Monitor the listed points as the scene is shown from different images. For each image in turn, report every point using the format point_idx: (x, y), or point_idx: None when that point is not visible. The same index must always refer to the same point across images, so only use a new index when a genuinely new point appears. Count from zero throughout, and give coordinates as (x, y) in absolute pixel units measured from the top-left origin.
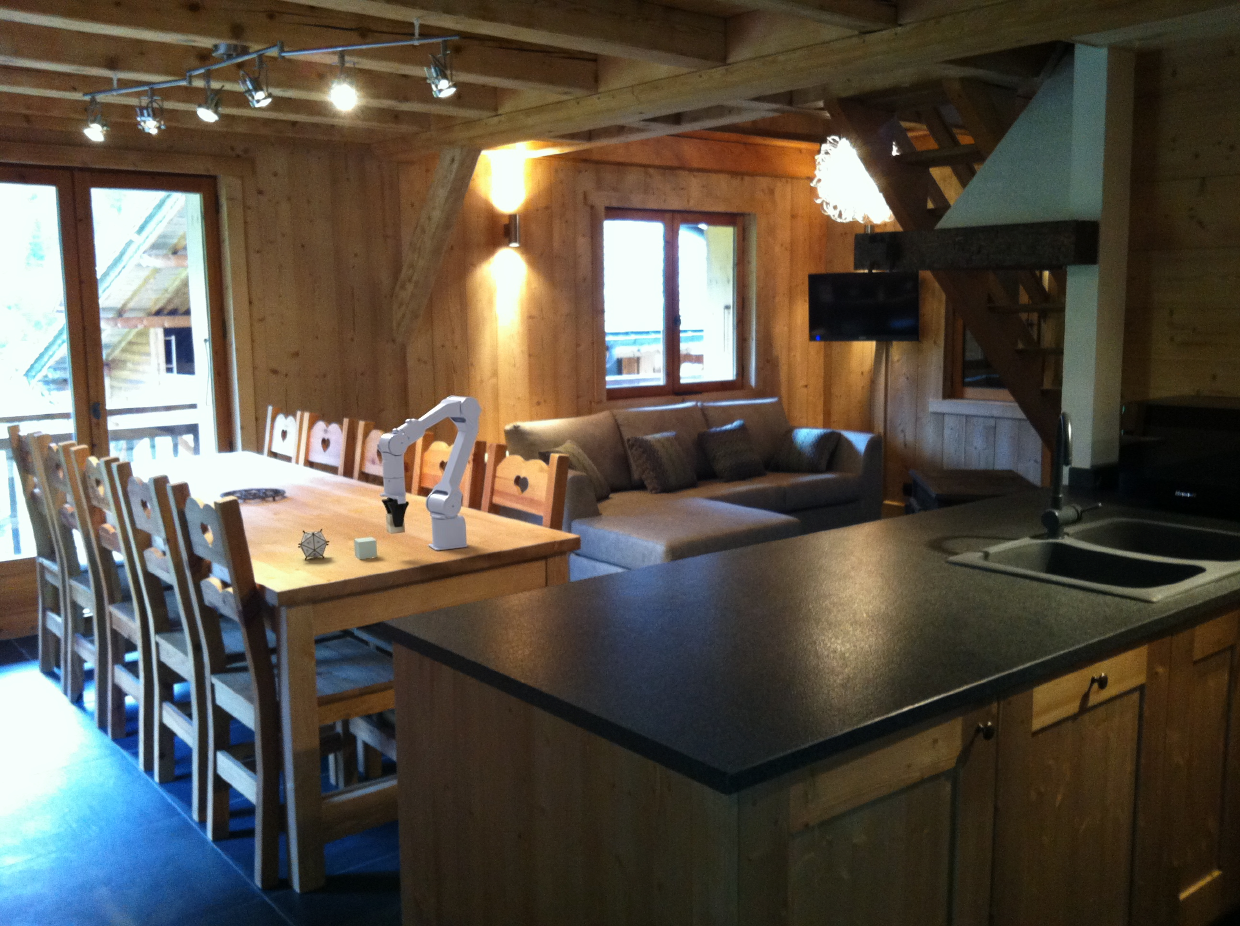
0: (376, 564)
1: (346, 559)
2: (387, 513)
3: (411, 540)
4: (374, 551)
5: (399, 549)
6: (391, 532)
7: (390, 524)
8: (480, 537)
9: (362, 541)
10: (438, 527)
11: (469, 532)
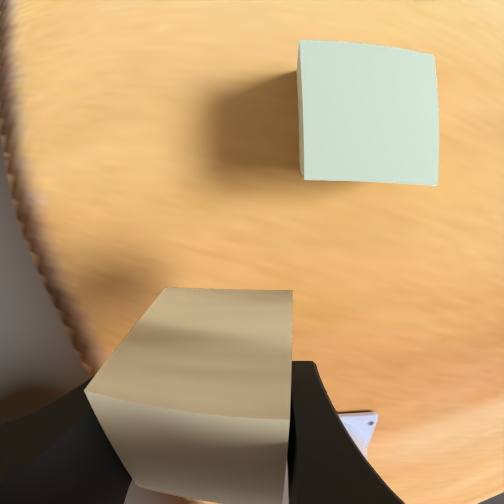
0: (142, 133)
1: (336, 20)
2: (332, 437)
3: (493, 374)
4: (300, 156)
5: (405, 313)
6: (161, 298)
7: (129, 333)
8: None
9: (315, 73)
10: (285, 495)
11: (434, 484)
